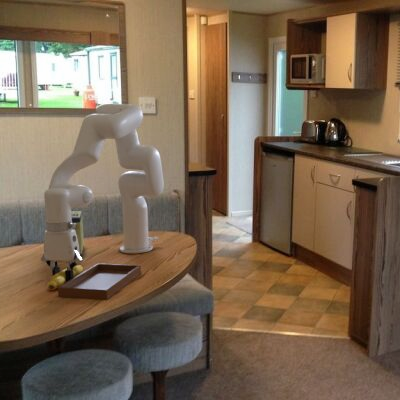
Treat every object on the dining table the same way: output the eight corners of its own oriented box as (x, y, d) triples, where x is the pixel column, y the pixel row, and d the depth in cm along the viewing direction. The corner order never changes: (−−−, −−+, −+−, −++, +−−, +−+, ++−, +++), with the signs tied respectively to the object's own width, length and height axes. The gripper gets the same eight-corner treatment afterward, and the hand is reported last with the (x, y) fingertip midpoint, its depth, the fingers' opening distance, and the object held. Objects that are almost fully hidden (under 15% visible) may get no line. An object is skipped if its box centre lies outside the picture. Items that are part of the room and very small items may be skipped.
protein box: (84, 247, 226) (82, 209, 223) (82, 258, 212) (80, 218, 209) (55, 249, 222) (53, 211, 219) (52, 260, 208) (49, 219, 205)
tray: (98, 271, 197) (97, 263, 196) (141, 273, 195) (140, 265, 195) (58, 296, 172) (57, 287, 171) (107, 299, 170) (106, 290, 170)
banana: (72, 270, 194) (74, 260, 194) (84, 273, 194) (85, 264, 194) (39, 290, 175) (41, 279, 175) (52, 293, 175) (54, 283, 174)
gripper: (89, 224, 184) (92, 277, 188) (41, 222, 186) (45, 275, 189) (78, 230, 177) (81, 285, 180) (28, 228, 178) (32, 282, 182)
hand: (63, 279), depth 185 cm, fingers closed on banana, 3 cm apart
